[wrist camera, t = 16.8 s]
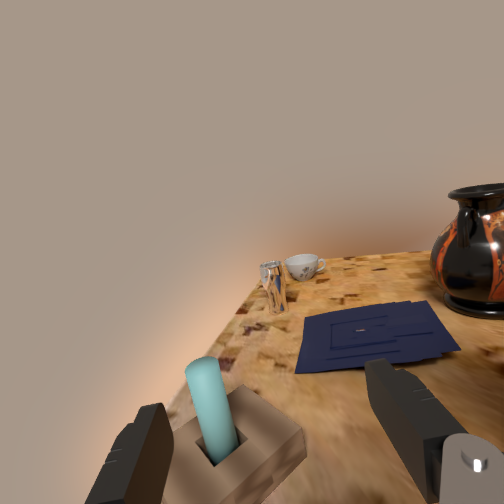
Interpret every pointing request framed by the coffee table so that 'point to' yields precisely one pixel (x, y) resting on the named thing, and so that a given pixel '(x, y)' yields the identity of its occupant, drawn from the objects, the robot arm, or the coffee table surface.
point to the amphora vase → (473, 253)
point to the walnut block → (236, 456)
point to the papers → (372, 336)
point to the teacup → (303, 266)
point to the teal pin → (212, 408)
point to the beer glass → (274, 286)
